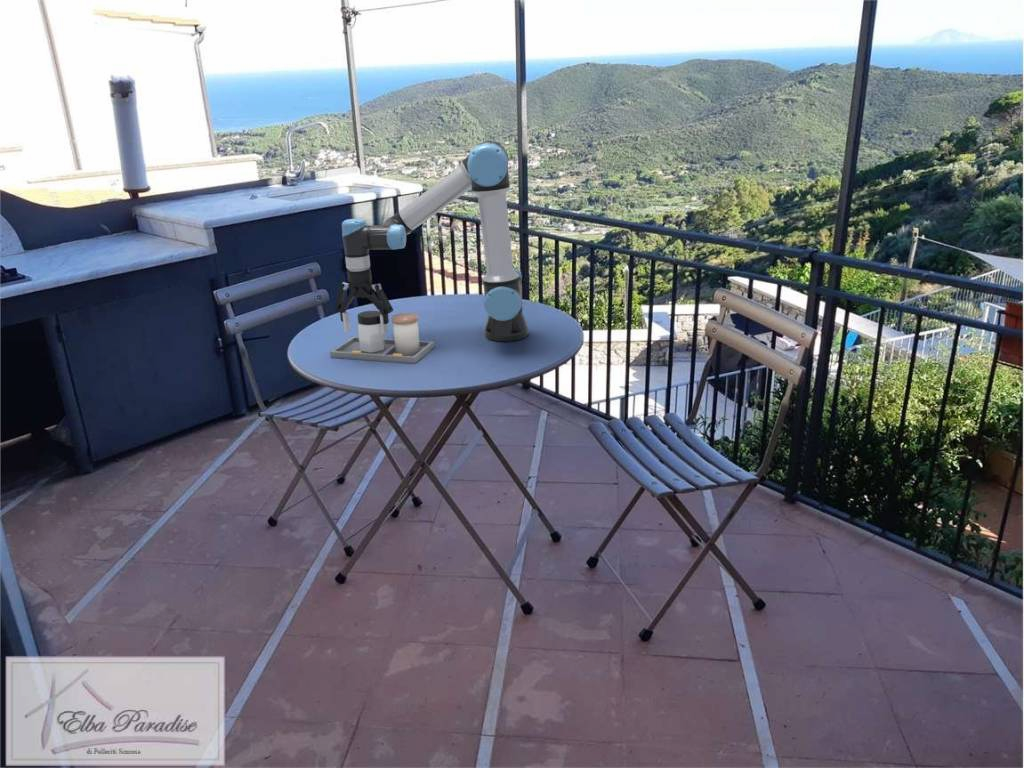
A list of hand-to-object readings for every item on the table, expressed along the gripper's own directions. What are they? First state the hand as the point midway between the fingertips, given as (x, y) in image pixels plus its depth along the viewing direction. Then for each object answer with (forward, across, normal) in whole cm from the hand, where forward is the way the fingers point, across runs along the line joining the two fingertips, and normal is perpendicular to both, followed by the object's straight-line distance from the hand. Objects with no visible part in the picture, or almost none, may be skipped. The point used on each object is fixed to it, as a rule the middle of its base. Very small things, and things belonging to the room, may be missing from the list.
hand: (366, 332), depth 246 cm
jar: (+6, -1, -1) cm, 6 cm away
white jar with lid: (+7, -14, 0) cm, 16 cm away
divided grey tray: (+7, -6, 0) cm, 9 cm away
